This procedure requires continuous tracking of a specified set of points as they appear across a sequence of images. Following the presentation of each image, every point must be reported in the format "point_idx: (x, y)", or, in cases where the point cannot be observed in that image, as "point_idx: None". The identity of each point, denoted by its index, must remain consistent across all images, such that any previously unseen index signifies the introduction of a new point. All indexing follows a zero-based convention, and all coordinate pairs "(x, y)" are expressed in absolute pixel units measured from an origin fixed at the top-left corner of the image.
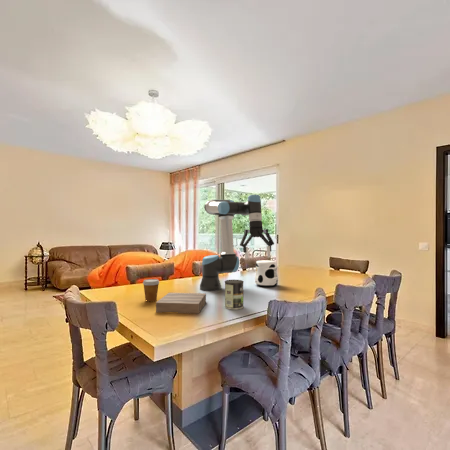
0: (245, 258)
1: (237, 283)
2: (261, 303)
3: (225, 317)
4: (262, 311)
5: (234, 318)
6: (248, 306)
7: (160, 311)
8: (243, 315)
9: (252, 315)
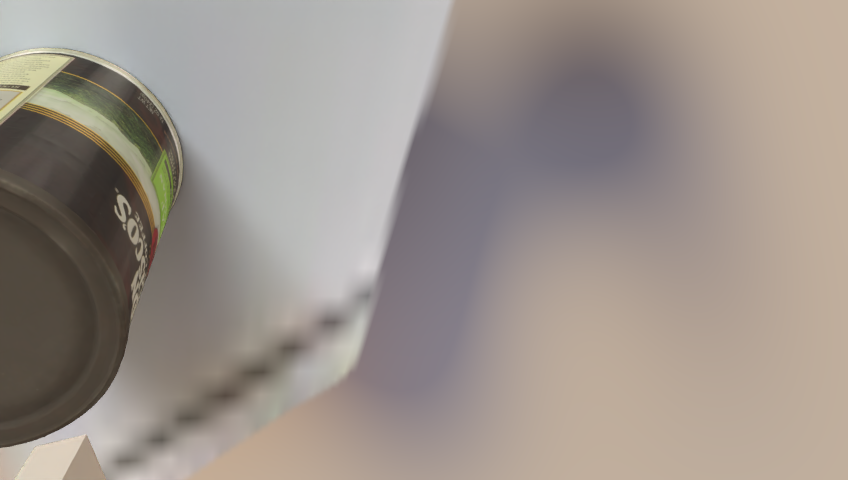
0: (38, 458)
1: (30, 437)
2: (418, 19)
3: (18, 449)
4: (367, 300)
5: (102, 466)
6: (243, 139)
7: None
8: (180, 401)
9: (260, 399)
